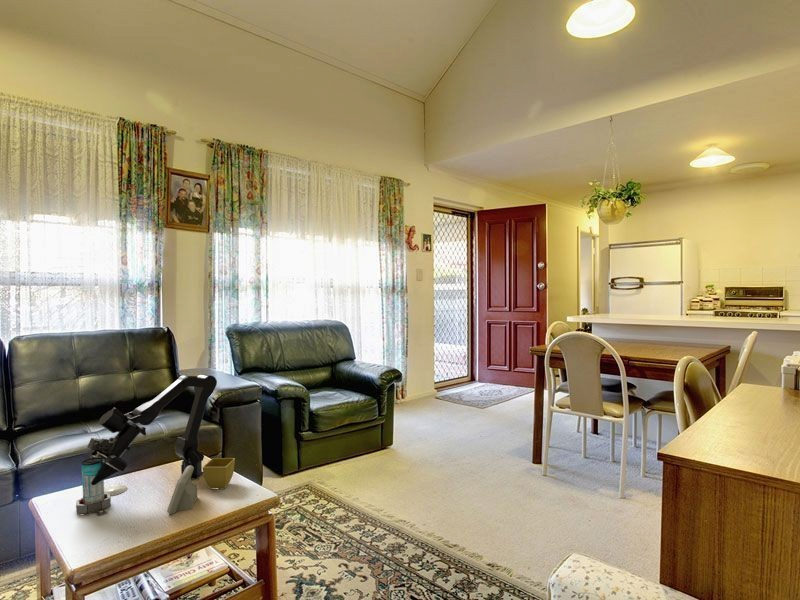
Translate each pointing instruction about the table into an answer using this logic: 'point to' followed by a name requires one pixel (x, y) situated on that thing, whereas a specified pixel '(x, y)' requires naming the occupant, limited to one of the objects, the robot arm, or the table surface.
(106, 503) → the eye ring
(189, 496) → the digital clock
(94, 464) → the beverage can
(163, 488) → the table surface
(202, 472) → the robot arm
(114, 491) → the dome ceiling light
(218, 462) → the flower pot
